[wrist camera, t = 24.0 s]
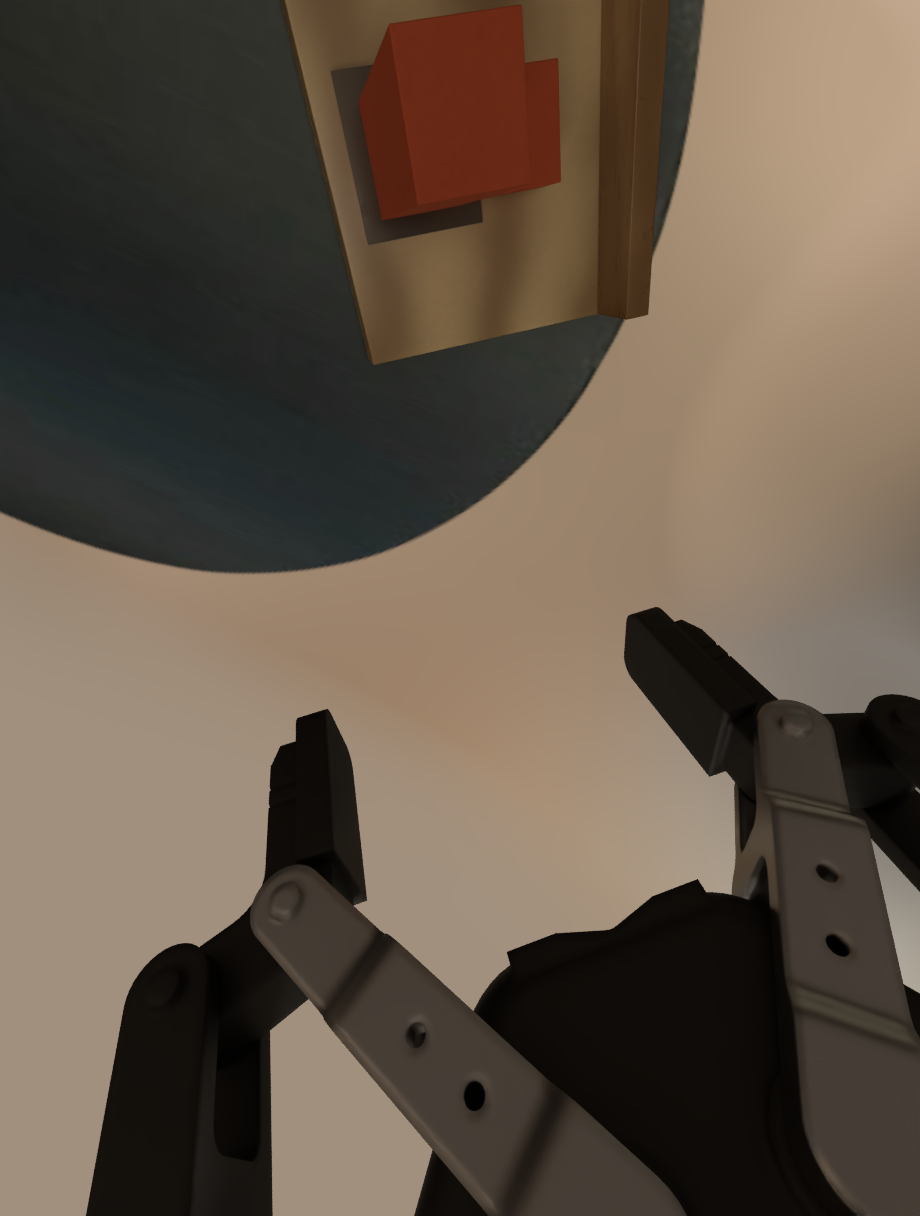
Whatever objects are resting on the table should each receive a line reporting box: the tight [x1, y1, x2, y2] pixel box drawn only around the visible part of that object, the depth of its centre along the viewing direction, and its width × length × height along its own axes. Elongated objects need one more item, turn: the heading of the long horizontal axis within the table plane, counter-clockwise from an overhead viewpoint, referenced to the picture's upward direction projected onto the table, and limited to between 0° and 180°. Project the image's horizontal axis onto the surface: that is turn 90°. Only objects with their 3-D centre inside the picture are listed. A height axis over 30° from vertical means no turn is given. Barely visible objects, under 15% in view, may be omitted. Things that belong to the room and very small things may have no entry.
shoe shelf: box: [280, 0, 670, 365], centre depth 28 cm, size 18×20×7 cm
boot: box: [358, 5, 561, 220], centre depth 24 cm, size 10×5×11 cm, turn 99°
